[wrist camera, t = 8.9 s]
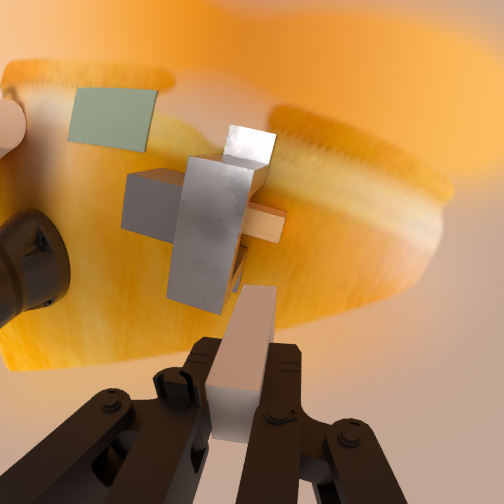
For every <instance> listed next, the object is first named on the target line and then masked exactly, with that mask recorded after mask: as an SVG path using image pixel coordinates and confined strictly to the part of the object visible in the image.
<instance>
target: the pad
mask: <svg viewBox="0 0 504 504" xmlns="http://www.w3.org/2000/svg"><path fill="white" fill-rule="evenodd" d="M157 94H158V91H156V90H143V89H125V88H77V92H76V97H75V102H74V106H73V112H72V117H71V123H70V129H69V135H68V141H70V142H78V143H86V144H93V145H100V146H107V147H114V148H120V149H126V150H132V151H138V152H145V150H146V145H147V139H148V134H149V129H150V124H151V120H152V115H153V111H154V106H155V102H156V98H157Z"/></svg>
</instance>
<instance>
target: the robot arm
mask: <svg viewBox="0 0 504 504" xmlns="http://www.w3.org/2000/svg"><path fill="white" fill-rule="evenodd" d="M69 280H70V268H69V261H68V256H67V253H66V249H65V246H64V244H63V241H62V239H61V237H60V235H59V233H58V231H57V230H56V228H55V226H54V225H53V224H52V222H51V221H50V220H49V219H48V218H47V217H46V216H45V215H44V214H42V213H41V212H39V211H37V210H34V209H26V210H23V211H20V212H17V213H15V214H14V215H12V216H11V217H10V218H9V219H8V220H6V221H5V222H4V223H3V224H2V225H1V226H0V328H2V327H3V326H4V325H6V324H7V323H8V322H9V321H11V320H12V319H13V318H15V317H16V316H17V315H19V314H20V313H22V312H25V311H30V310H34V309H39V308H43V307H47V306H50V305H52V304H54V303H55V302H57V301H58V300H59V299H61V298H62V297H63V296H64V295H65V293H66V291H67V289H68V286H69ZM276 288H277V287H275V286H260V285H245V284H244V285H243V288H242V290H241V293H240V295H239V298H238V301H237V303H236V306H235V308H234V311H233V313H232V316H231V319H230V321H229V324H228V326H227V329H226V331H225V334H224V337H223V339H218V338H210V337H203V338H201V339H200V340H199V341H197V342H196V343H195V344H194V346H193V348H192V350H191V352H190V354H189V355H188V357H187V359H186V362H185V364H184V366H183V367H171V368H166V369H163V370H162V371H160V372H158V373H157V374H156V375H155V376H154V377H153V381H154V385H155V389H156V392H157V396H158V398H156V399H150V400H131V399H130V396H129V394H127V393H126V392H125V391H123V390H120V389H117V388H115V389H114V388H113V389H112V388H109V389H105V390H102V391H101V392H99V393H97V394H96V395H95V396H93V397H92V398H91V399H90V400H89V401H88V402H87V403H85V404H84V405H83V406H82V407H81V408H80V409H78V410H77V411H76V412H75V413H74V414H73V415H71V416H70V417H69V418H68V419H67V420H66V421H64V422H63V423H62V424H61V425H60V426H59V427H57V428H56V429H55V430H54V431H53V432H51V433H50V434H49V435H48V436H47V437H46V438H44V439H43V440H42V441H41V442H40V443H39V444H37V445H36V446H35V447H34V448H33V449H32V450H30V451H29V452H28V453H27V454H26V455H25V456H23V457H22V458H21V459H20V460H19V461H17V462H16V463H15V464H14V465H13V466H12V467H10V468H9V469H8V470H7V471H6V472H4V473H3V474H2V475H1V476H0V504H192V503H193V500H194V497H195V494H196V490H197V487H198V484H199V481H200V478H201V474H202V471H203V468H204V465H205V462H206V458H207V455H208V450H209V445H208V439H209V436H210V433H212V438H213V439H218V440H225V441H232V442H240V443H248V447H247V452H246V457H245V462H244V466H243V471H242V476H241V480H240V485H239V490H238V494H237V499H236V503H235V504H297V499H298V488H299V479H302V480H305V481H309V482H311V483H312V486H313V490H314V493H315V497H316V500H317V504H408V503H407V501H406V499H405V497H404V495H403V492H402V490H401V488H400V486H399V484H398V482H397V480H396V478H395V476H394V474H393V471H392V469H391V467H390V465H389V463H388V461H387V459H386V457H385V455H384V453H383V451H382V448H381V447H380V444H379V443H378V440H377V439H376V436H375V434H374V432H373V430H372V429H371V428H370V427H369V425H368V424H366V423H364V422H363V421H361V420H357V419H353V418H349V419H342V420H339V421H336V422H334V423H333V424H332V425H330V424H326V423H322V422H319V421H317V420H314V419H312V418H311V417H309V416H308V415H307V414H306V413H305V412H304V411H303V409H302V407H301V354H302V353H301V351H300V350H299V348H298V347H297V345H296V344H282V343H273V339H274V325H275V307H276Z"/></svg>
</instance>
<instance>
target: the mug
mask: <svg viewBox="0 0 504 504" xmlns="http://www.w3.org/2000/svg"><path fill="white" fill-rule="evenodd" d="M25 131H26V119H25V115H24V113H23V111H22V109H21V107H20V106H19V105H18V104H17V103H16V102H14V101H13V100H10V99H4V94H3V90H2V88H1V87H0V158H2V157H3V156H4V155H6V154H7V153H8V152H10V151H11V150H12V149H14V148H15V147H16V146H18V145H19V144H20V143H21V141H22V139H23V137H24V135H25Z"/></svg>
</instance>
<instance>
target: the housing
mask: <svg viewBox="0 0 504 504" xmlns="http://www.w3.org/2000/svg"><path fill="white" fill-rule="evenodd" d="M276 136H277V135H276V134H272V133H267V132H263V131H259V130H254V129H250V128H245V127H241V126H236V125H230V127H229V132H228V136H227V140H226V144H225V148H224V153H223V154H211V155H194V156H189V158H188V163H187V168H186V173H185V178H184V184H183V189H182V194H181V200H180V206H179V212H178V218H177V224H176V230H175V237H174V243H173V250H172V257H171V265H170V273H169V281H168V289H167V298H169V299H172V300H175V301H178V302H181V303H184V304H187V305H190V306H193V307H196V308H199V309H202V310H206V311H209V312H212V313H215V314H219V315H221V313H222V311H223V309H224V307H225V305H226V303H227V300H228V298H229V296H230V294H231V292H235V293H237V291H238V288H239V284H240V280H241V276H242V272H243V268H244V264H245V260H246V256H247V252H248V248H246V247H243V246H239V243H240V239H241V235H242V231H243V226H244V222H245V218H246V214H247V210H248V206H249V201H250V197H251V196H252V195H253V194H254V193H255V192H256V191H257V190H258V189H259V188H260V187H261V186H263V185H264V184H265V180H266V176H267V172H268V168H269V164H270V160H271V156H272V152H273V148H274V144H275V140H276Z"/></svg>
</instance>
